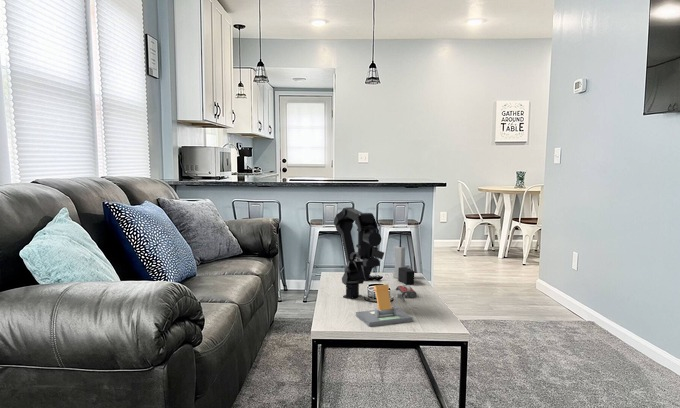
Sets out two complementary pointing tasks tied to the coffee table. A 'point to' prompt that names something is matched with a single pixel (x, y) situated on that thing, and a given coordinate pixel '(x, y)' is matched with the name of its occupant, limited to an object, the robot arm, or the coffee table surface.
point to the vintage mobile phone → (399, 258)
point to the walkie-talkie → (405, 292)
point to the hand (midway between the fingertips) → (364, 279)
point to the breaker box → (383, 317)
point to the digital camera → (406, 275)
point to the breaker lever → (383, 299)
